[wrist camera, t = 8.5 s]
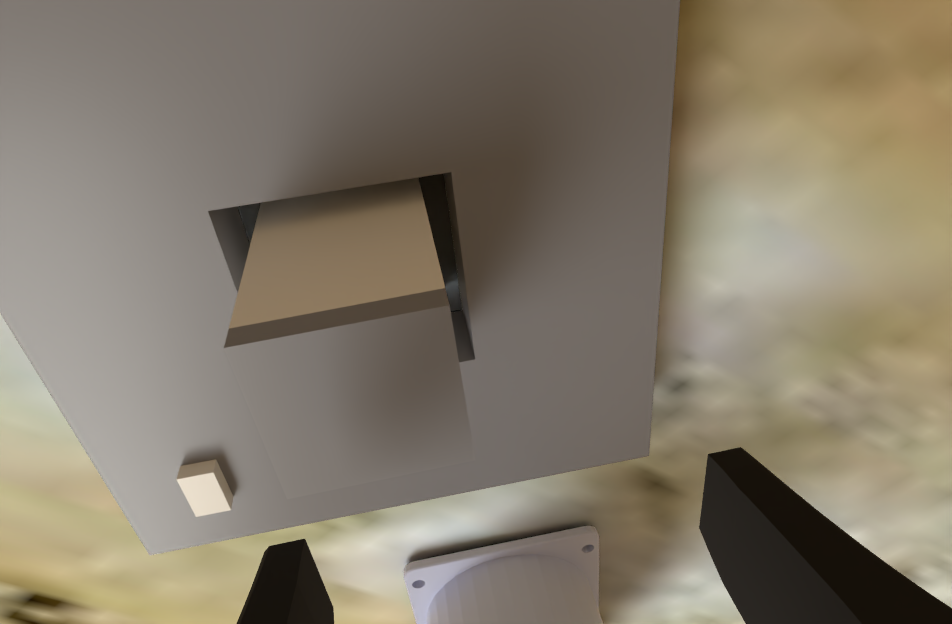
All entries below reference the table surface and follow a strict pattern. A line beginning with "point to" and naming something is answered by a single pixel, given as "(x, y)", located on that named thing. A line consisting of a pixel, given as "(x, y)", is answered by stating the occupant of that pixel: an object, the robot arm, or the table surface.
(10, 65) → the socket block
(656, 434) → the table surface
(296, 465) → the plug
